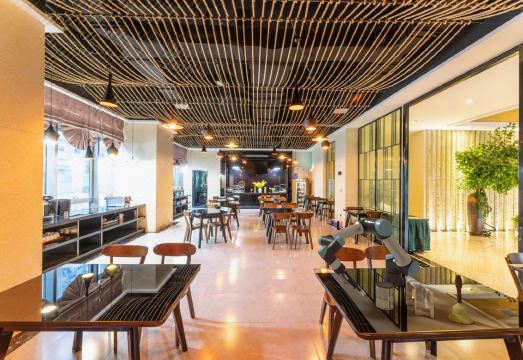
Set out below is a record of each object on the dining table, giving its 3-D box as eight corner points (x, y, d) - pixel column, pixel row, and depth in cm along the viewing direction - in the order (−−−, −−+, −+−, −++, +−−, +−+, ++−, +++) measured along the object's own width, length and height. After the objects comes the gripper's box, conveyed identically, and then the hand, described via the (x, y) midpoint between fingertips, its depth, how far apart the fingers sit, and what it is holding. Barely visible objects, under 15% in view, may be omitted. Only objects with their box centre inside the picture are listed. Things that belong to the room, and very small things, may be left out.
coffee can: (375, 302, 179) (375, 280, 180) (392, 304, 176) (392, 282, 176) (376, 308, 169) (376, 285, 170) (394, 311, 166) (394, 287, 167)
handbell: (478, 321, 153) (476, 276, 155) (465, 325, 148) (463, 279, 150) (455, 313, 164) (453, 271, 166) (442, 316, 159) (440, 273, 161)
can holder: (405, 302, 179) (404, 275, 180) (420, 304, 178) (420, 276, 179) (416, 315, 160) (415, 285, 161) (433, 317, 158) (433, 287, 159)
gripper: (332, 267, 186) (358, 294, 182) (334, 272, 173) (361, 302, 169) (340, 260, 185) (366, 287, 181) (342, 265, 172) (370, 294, 168)
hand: (363, 294), depth 175 cm, fingers closed
